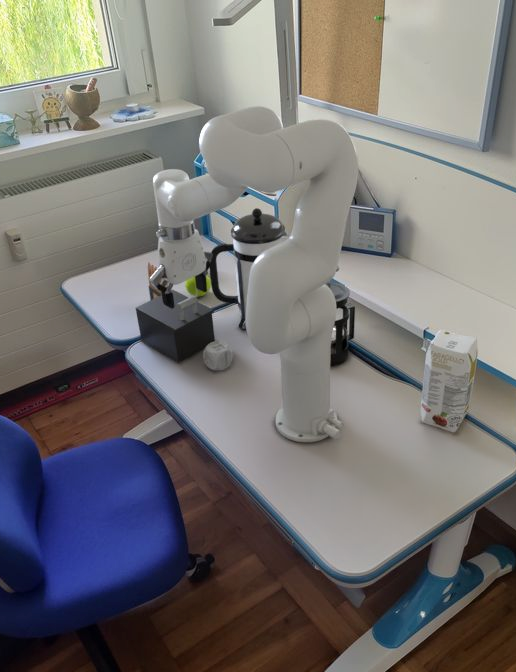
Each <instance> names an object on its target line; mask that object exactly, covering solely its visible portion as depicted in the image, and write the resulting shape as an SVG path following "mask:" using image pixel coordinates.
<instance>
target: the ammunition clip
mask: <svg viewBox="0 0 516 672" xmlns="http://www.w3.org/2000/svg"><path fill="white" fill-rule="evenodd" d="M158 269H159V268H157V266H154V264H151V263H150V262H148V263H147V279H148V292H149V293H148V294H149V299H150V300H152V299H155V298H157V297H159V296H161V295H162V293H161V291H160V290H158V289H156V288H154V286H153V285H152V284H151V282H150V281H149V279H150V278H151V276H152V275H153V274H154V273H155V272H156V271H157V270H158ZM161 281H162V278H160V279H159V283H161ZM167 284H168V281H167V283H166V285H165V287H167ZM171 290H173V288H172V289H171ZM150 300H149V301H150Z"/></svg>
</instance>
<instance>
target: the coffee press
mask: <svg viewBox="0 0 516 672" xmlns="http://www.w3.org/2000/svg"><path fill="white" fill-rule="evenodd" d="M230 236H231V238H232V240H233V243H220V244H217V245H215V246H214V247H213V249H212V250H211V253H212V254H213V256H212V259H211V261H210V263H211V265H210V267H209V278H210V280H211V292H212V294H213V295H214V297H215V298H216V299H217V300H218V301H220V302H223V303H227V304H236V305H237V307H238V312H239V316H240V321H239V323H238V328H239V329H240V330H241V331H245V330H246V319H245V318H246V305H247V294H248V284H249V275H250V270H251V267H252V265H253V263H254V261H255V259H256V258H257V257H258V256H259V255H260V254H261V253H262V252H264V251H266V250H268V249H270V248H272V247H274V246H276V245H278V244H281V243H283V242H284V241H286V240H287V239H288V238H289V237H290V234H289V233H288V232H287V230H286V227H285V224H283V223H282V221H281V219H279V218H278V217H277V216H274V215H272V214H268V213H263V212H262V210H261V209H260V208H258V207H257V208H254V209H253V210H252V212H251V214H247V215H244V216H241V217H240V218H238V219H236V221H235V223H233V226H232V227H231V229H230ZM226 252H232V253H233V256H234V264H235V278H236V288H237V295H228V294H224V293H223V292H222V291H221V289H220V283H219V282H220V281H219V272H218V263H217V258H218V256H219V254H221V253H226Z"/></svg>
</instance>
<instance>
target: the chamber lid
mask: <svg viewBox="0 0 516 672" xmlns="http://www.w3.org/2000/svg"><path fill="white" fill-rule="evenodd" d="M170 292H172V293H173V298H174V306H175V307H174V308H173V309H171V308H169V307H167V306H166V305H164V303H163V299H162V295H161V296H159V297H157V298H155V299H152V300H148V301H146V302H144V303H142V304H140V305H138V306H136V307H135V312H136V311H138V312H140V313H142V314H143V315H145V316H147V317H149V318H151V319H152V320H154V321H156V322H158V323H160V324H162V325H163V326H165V327H167V328H169V329H171V330H172V331H174V332H178V331H180V330H182V329H184V328H185V327H187V326H189V325H191V324H193V323H195V322H197V321H199V320H201V319H202V318H204V317H206V316H208V315H210V314H212V315H213V313H215V310H214V309H213V308H212V307H210V306H207V305H205V304H203V303H201V302H200V301H199V299H198V297H197V296H193V295H191V296H190V297H189V296H187V295H184V294H183V293H181V292H178V291H177V290H175V289H172V290H171V291H170Z"/></svg>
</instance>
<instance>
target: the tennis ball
mask: <svg viewBox="0 0 516 672" xmlns="http://www.w3.org/2000/svg"><path fill="white" fill-rule="evenodd" d="M206 282H207V292H203V291H201V290H199V289H197V288H196V281H195V277H193V278H190V279H188V280H186V281H184V285H185V289H186V291H187V292H188V293H189V294H190V296H196V297H197V298H198V297H203V296H206V294H208V293H209V292H210V290H211V288H212V286H211V278H210V275H209V274H208V275H207V276H206Z"/></svg>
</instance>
